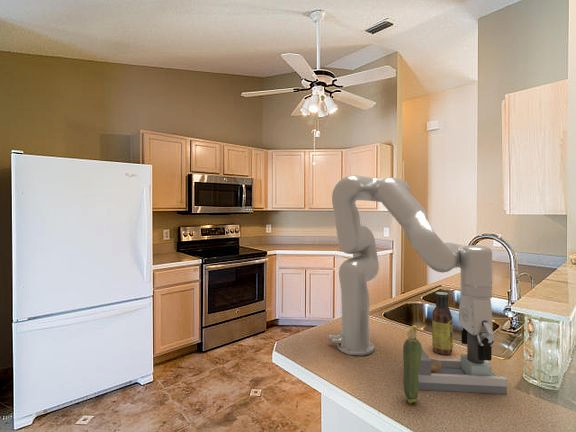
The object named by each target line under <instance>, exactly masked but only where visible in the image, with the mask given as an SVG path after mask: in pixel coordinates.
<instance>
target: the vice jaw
mask: <svg viewBox="0 0 576 432" xmlns="http://www.w3.org/2000/svg"><path fill="white" fill-rule="evenodd" d="M480 333H484V332H480ZM481 337H482V336H481ZM484 338H485V337H482V340H483V339H484ZM478 344H479V341H478V338H477V335H475V336H474V335H472V334H470V333H469V332H468V331H467V344H466V345H467V348H466V354H462V353H461V354H460V359H461V369H462V370H463V371H464V372H465V373H466V375H479V376H491V372H492V366H491V365H490V363H489V364H488V363H487V362H486V361H487V360H479V359H478Z"/></svg>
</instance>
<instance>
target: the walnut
mask: <svg viewBox="0 0 576 432" xmlns="http://www.w3.org/2000/svg"><path fill="white" fill-rule="evenodd" d="M430 360H431V373H436V374H441V362H440V361H438V360H435V359H430Z"/></svg>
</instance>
